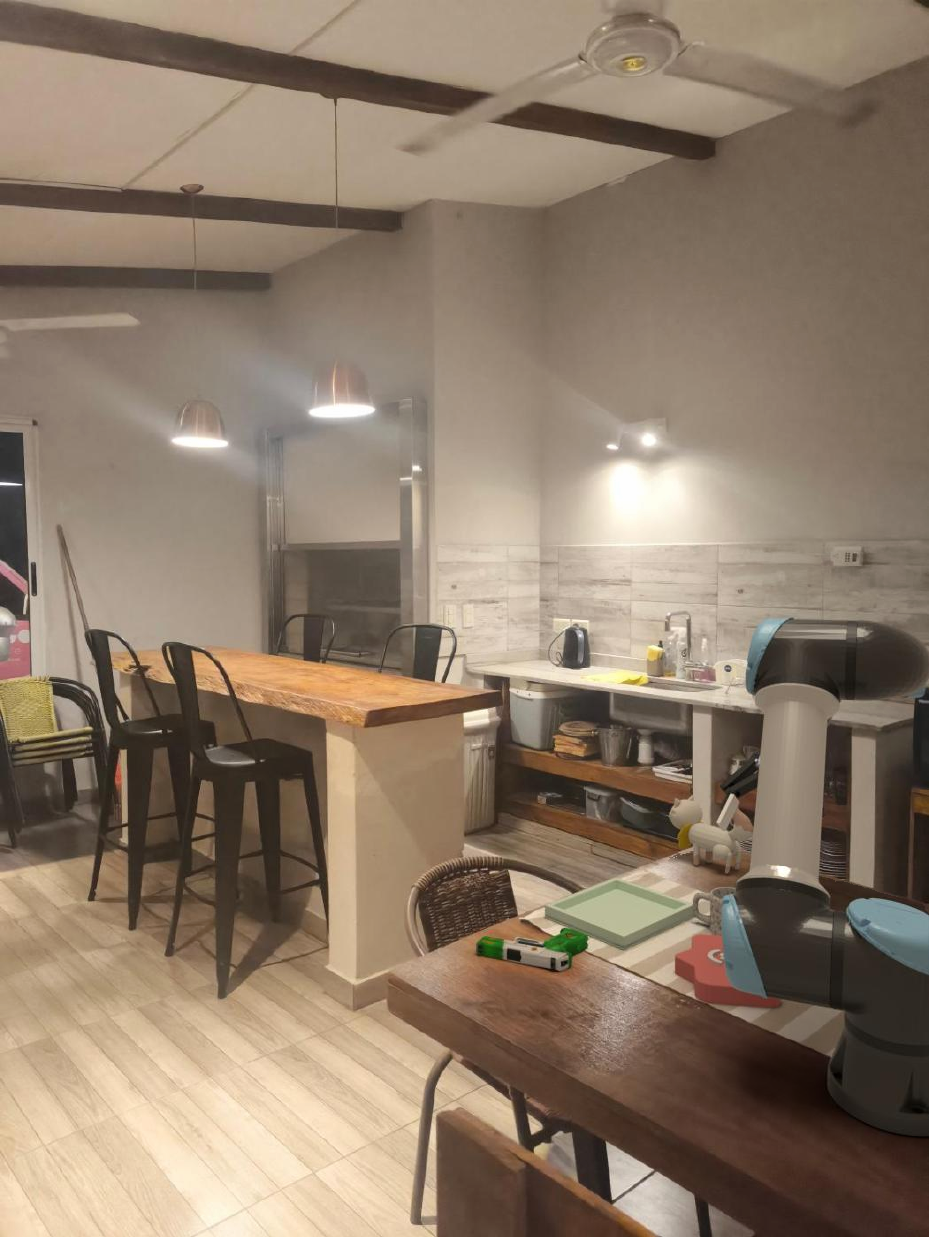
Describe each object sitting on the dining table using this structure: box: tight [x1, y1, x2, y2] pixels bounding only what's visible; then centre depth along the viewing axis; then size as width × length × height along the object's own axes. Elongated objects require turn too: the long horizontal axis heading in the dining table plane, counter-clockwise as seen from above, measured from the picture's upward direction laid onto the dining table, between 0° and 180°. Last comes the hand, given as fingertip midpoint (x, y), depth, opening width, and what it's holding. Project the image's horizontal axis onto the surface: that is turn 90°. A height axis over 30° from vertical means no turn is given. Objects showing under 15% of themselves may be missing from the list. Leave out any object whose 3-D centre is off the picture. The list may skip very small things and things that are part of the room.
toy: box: [668, 794, 754, 875], centre depth 193 cm, size 9×19×15 cm, turn 40°
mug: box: [692, 886, 736, 936], centre depth 163 cm, size 10×7×7 cm, turn 56°
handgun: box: [475, 927, 589, 972], centre depth 156 cm, size 3×16×12 cm
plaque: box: [674, 933, 781, 1009], centre depth 146 cm, size 18×4×15 cm
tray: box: [544, 877, 695, 951], centre depth 169 cm, size 20×18×2 cm
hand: (753, 835), depth 169 cm, fingers open, 13 cm apart
